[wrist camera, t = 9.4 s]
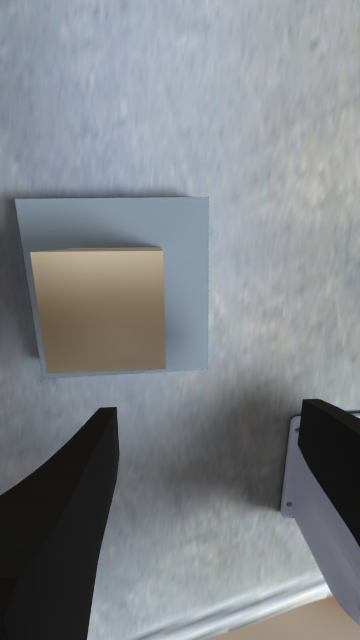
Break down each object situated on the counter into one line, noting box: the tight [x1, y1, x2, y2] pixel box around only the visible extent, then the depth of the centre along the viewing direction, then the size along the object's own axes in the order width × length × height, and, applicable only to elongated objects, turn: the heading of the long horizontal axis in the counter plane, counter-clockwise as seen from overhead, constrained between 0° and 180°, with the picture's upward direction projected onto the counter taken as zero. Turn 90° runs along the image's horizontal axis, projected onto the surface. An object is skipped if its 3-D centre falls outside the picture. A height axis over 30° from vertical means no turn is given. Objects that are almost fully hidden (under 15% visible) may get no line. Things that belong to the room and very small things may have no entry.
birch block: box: [30, 247, 166, 374], centre depth 13 cm, size 4×4×6 cm
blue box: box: [15, 197, 209, 378], centre depth 18 cm, size 10×10×3 cm
